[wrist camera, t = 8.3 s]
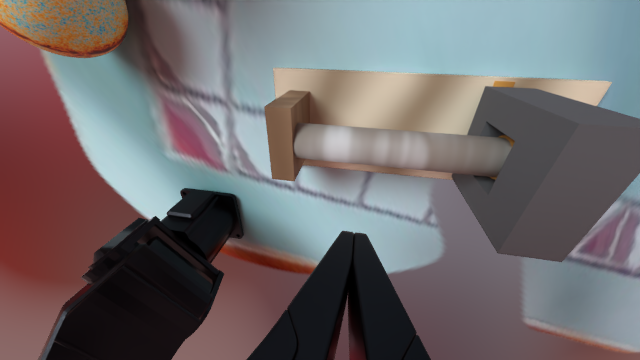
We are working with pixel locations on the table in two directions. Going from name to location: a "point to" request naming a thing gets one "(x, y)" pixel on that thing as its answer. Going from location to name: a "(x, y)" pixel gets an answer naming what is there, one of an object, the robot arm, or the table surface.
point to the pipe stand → (392, 121)
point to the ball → (67, 25)
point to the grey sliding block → (549, 170)
